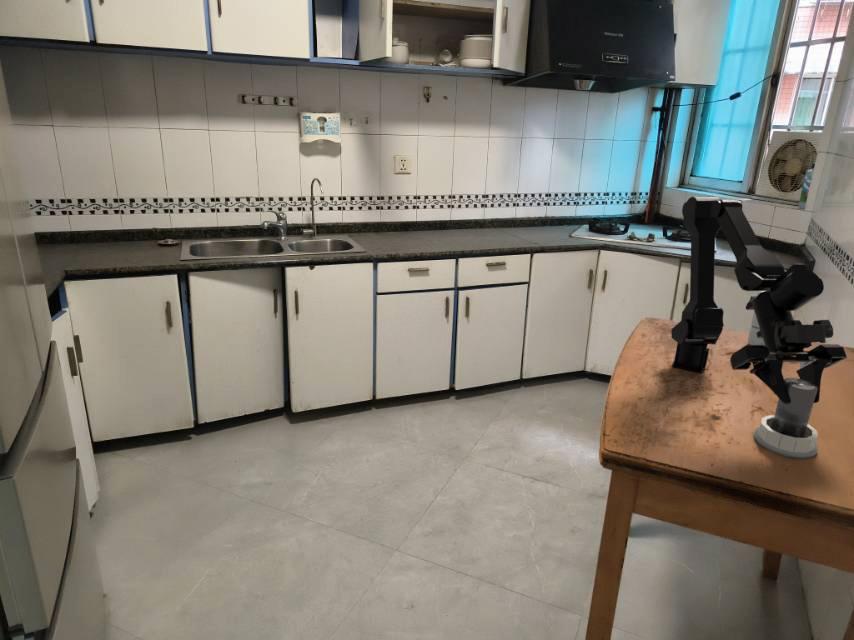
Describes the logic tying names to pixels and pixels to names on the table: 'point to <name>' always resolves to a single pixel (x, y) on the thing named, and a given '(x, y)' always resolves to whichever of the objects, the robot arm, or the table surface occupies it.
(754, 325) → the syrup box
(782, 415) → the lens
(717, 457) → the table surface
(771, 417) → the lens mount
